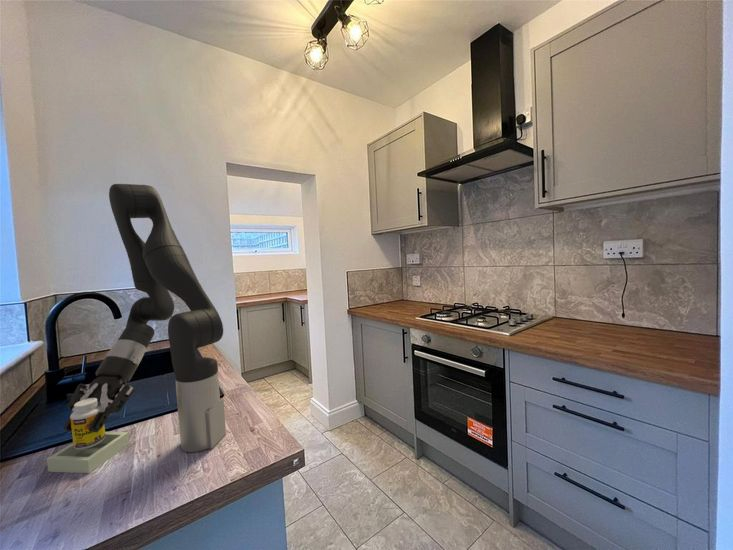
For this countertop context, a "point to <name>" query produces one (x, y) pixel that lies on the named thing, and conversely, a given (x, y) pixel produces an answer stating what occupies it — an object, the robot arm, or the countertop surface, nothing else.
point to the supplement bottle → (85, 424)
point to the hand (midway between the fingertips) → (80, 430)
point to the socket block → (88, 454)
